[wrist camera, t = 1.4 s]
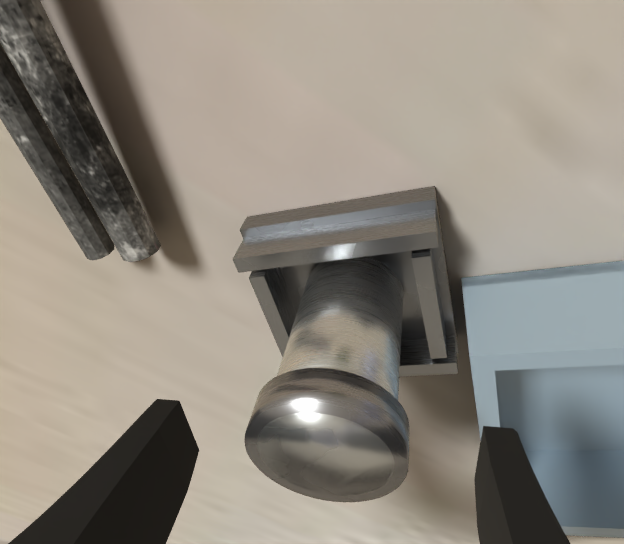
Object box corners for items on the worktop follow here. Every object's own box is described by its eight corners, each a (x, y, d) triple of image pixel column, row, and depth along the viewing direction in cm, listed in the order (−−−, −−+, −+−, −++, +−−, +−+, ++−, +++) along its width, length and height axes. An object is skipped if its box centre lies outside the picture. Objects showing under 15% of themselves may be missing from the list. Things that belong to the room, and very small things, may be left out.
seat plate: (434, 186, 14) (436, 221, 12) (456, 336, 17) (460, 379, 16) (247, 217, 16) (227, 250, 14) (299, 348, 19) (287, 387, 17)
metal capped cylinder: (402, 238, 14) (391, 400, 9) (421, 332, 16) (420, 504, 12) (282, 254, 15) (220, 406, 11) (314, 340, 17) (274, 499, 13)
